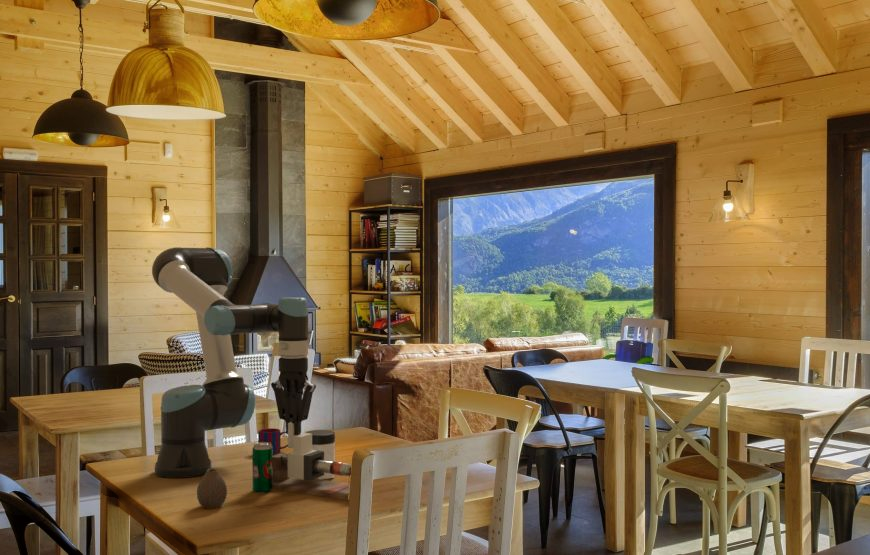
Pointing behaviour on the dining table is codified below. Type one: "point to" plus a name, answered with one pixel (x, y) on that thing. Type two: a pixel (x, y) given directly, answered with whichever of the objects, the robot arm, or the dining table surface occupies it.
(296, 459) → the sleeve
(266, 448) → the soda can
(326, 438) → the jar
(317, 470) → the pipe
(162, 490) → the dining table surface
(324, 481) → the stand
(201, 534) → the dining table surface
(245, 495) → the dining table surface
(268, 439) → the mug
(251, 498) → the dining table surface
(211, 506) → the vase
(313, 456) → the dark grey square collar
